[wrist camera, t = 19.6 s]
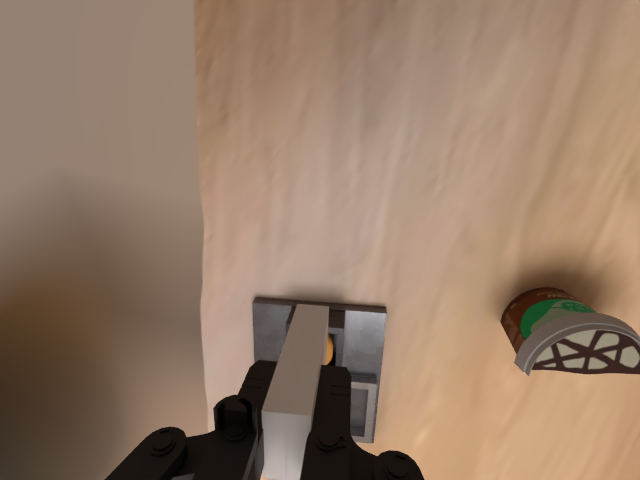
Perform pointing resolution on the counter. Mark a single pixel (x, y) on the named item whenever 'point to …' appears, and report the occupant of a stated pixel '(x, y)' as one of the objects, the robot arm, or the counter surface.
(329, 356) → the button
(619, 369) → the food container
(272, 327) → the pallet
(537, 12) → the counter surface
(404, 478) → the robot arm
